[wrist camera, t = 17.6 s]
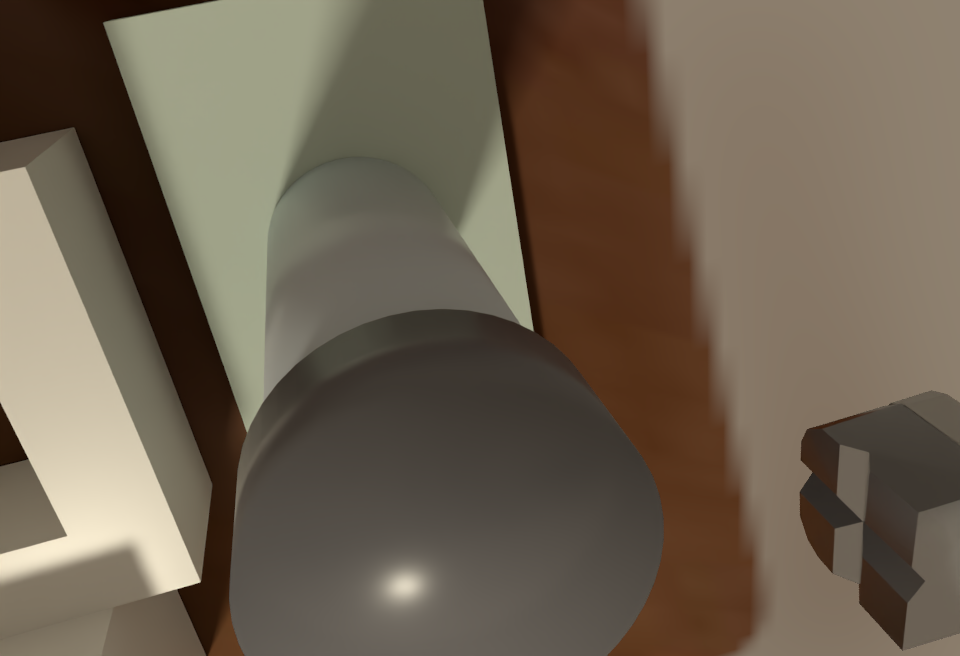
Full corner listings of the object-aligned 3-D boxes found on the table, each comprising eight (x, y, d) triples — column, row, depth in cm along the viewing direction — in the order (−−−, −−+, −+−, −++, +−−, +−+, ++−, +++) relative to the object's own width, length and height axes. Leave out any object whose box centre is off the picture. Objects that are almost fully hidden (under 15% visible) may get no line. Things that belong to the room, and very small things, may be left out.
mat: (110, 20, 17) (103, 22, 17) (467, -48, 18) (475, -49, 18) (266, 469, 23) (266, 486, 22) (537, 396, 24) (546, 410, 23)
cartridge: (226, 170, 18) (161, 461, 8) (439, 123, 19) (648, 331, 8) (286, 360, 21) (299, 787, 10) (475, 312, 21) (675, 665, 11)
